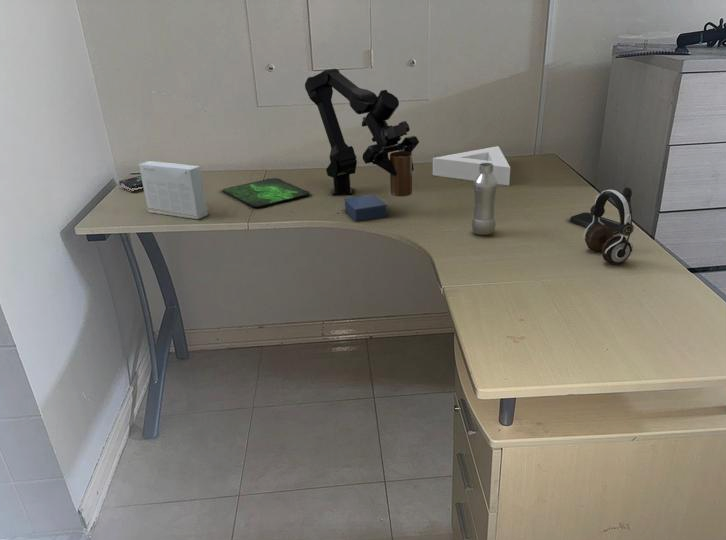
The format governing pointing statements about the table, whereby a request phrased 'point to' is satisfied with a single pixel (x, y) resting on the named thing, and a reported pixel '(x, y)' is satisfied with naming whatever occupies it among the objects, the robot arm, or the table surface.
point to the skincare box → (174, 188)
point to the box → (365, 207)
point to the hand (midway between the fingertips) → (404, 172)
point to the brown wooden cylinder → (401, 173)
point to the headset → (602, 235)
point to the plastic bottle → (484, 200)
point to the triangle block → (473, 165)
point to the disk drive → (133, 183)
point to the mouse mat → (265, 192)
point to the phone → (587, 219)
